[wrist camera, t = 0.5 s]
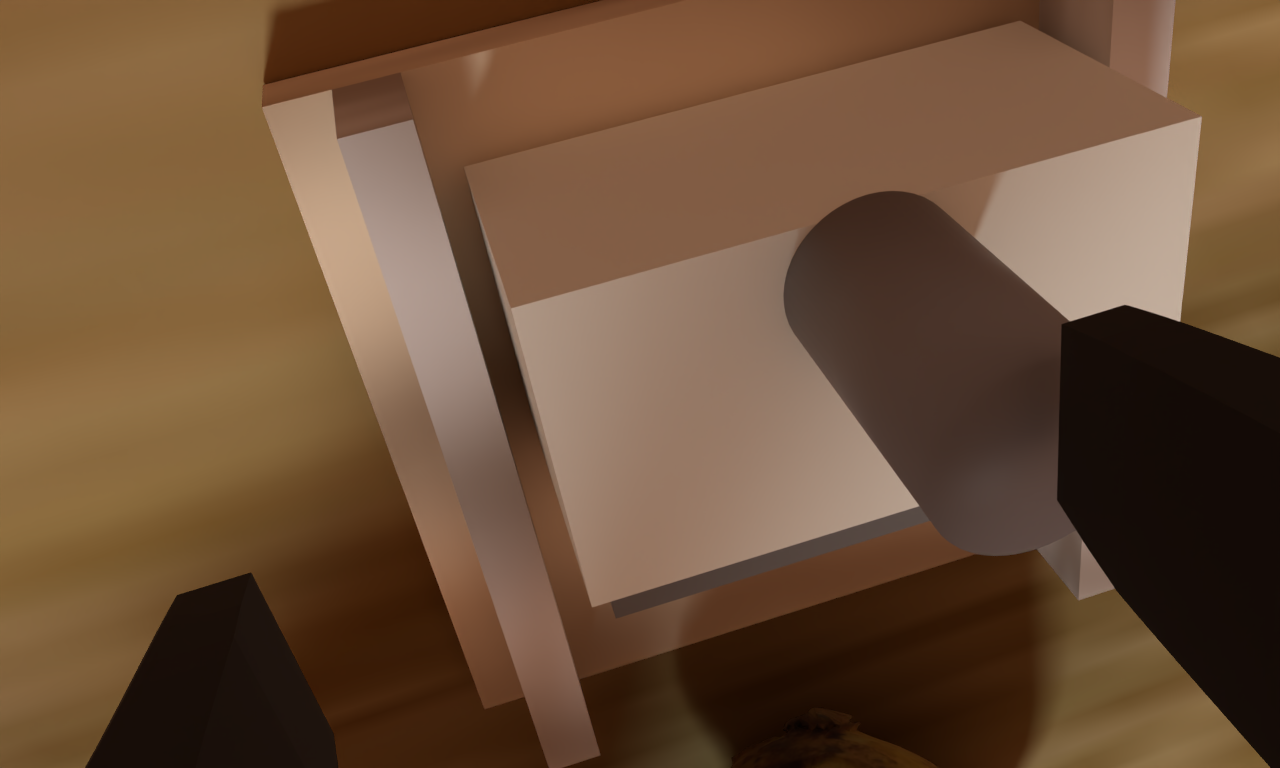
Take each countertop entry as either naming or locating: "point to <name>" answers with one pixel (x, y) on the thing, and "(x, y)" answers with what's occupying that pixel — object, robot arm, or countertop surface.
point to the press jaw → (830, 303)
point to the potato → (826, 746)
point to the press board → (474, 319)
